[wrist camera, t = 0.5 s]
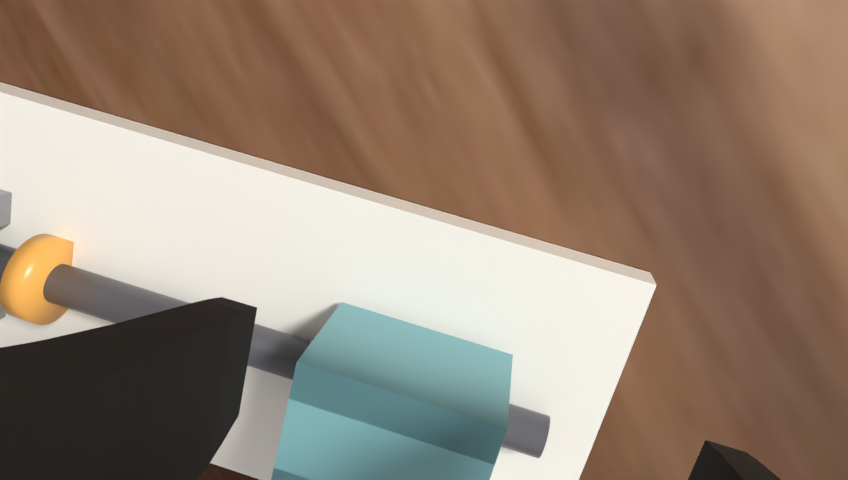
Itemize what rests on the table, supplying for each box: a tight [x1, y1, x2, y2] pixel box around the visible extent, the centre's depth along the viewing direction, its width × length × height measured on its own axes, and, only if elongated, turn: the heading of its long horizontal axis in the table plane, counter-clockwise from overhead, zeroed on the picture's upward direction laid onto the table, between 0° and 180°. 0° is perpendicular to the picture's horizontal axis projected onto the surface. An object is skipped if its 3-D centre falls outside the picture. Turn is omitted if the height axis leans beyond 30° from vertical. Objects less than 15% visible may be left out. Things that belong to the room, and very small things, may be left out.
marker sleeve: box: [271, 302, 513, 480], centre depth 17 cm, size 4×5×4 cm
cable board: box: [0, 82, 656, 480], centre depth 19 cm, size 10×24×4 cm, turn 76°
